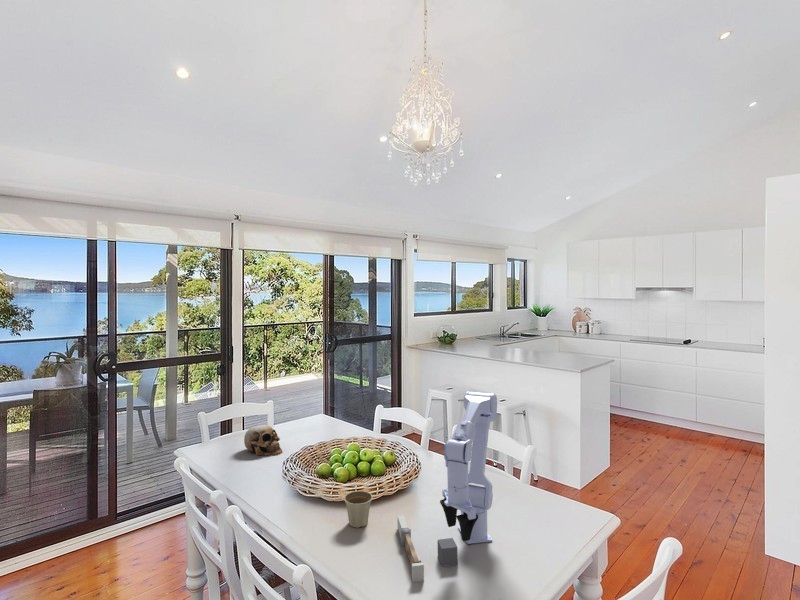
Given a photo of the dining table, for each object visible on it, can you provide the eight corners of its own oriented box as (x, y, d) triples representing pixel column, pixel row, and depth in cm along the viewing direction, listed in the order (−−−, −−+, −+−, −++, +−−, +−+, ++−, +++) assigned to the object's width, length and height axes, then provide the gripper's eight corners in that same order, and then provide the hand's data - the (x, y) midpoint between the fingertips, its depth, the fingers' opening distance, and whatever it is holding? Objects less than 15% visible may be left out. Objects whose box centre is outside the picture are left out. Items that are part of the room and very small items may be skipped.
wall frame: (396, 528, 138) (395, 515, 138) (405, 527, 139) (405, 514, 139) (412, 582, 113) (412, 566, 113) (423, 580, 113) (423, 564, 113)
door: (405, 547, 128) (405, 534, 128) (412, 546, 128) (412, 533, 128) (414, 576, 114) (414, 562, 114) (422, 575, 115) (422, 561, 115)
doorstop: (437, 556, 123) (437, 539, 123) (452, 555, 124) (452, 537, 124) (442, 566, 119) (441, 548, 119) (457, 564, 120) (457, 546, 120)
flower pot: (373, 515, 147) (373, 490, 147) (372, 530, 137) (372, 503, 137) (345, 516, 147) (345, 490, 146) (343, 531, 137) (342, 504, 137)
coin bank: (282, 454, 204) (278, 426, 203) (244, 462, 199) (240, 433, 199) (282, 444, 219) (279, 418, 219) (247, 451, 214) (243, 425, 214)
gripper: (432, 476, 123) (433, 523, 124) (459, 498, 110) (459, 550, 110) (454, 471, 126) (454, 517, 126) (482, 492, 113) (483, 544, 113)
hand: (458, 532), depth 118 cm, fingers open, 7 cm apart
